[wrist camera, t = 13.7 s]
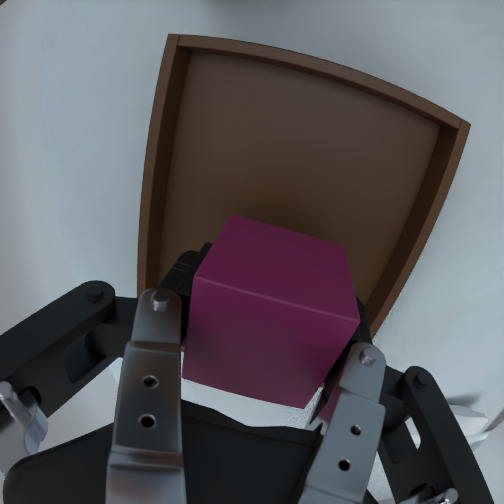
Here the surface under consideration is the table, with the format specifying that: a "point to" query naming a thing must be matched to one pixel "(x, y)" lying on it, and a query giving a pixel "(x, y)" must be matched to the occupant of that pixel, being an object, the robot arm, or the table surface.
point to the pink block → (269, 313)
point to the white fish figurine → (465, 417)
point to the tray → (293, 160)
